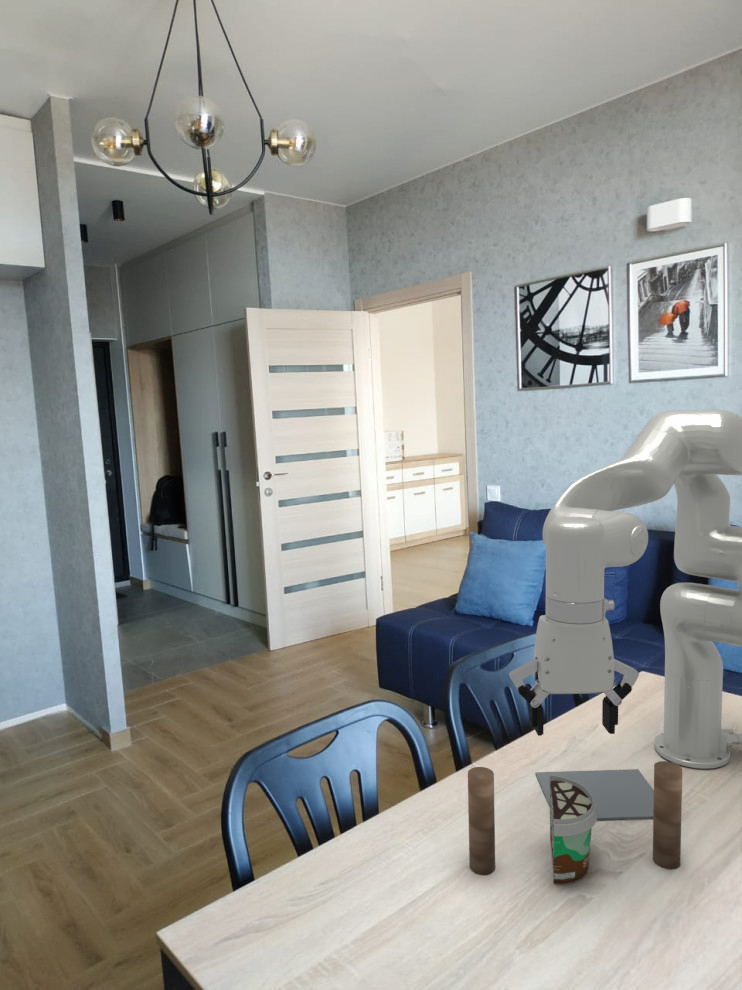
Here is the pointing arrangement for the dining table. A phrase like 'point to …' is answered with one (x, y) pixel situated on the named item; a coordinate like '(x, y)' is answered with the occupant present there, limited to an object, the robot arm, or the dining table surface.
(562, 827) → the food container
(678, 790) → the walnut post
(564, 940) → the dining table surface
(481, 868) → the walnut post
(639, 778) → the charcoal mat
